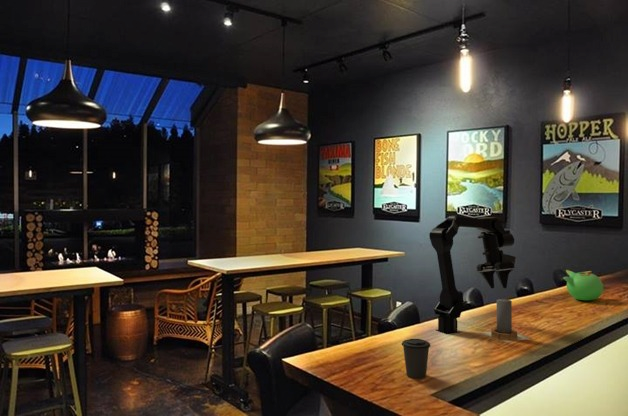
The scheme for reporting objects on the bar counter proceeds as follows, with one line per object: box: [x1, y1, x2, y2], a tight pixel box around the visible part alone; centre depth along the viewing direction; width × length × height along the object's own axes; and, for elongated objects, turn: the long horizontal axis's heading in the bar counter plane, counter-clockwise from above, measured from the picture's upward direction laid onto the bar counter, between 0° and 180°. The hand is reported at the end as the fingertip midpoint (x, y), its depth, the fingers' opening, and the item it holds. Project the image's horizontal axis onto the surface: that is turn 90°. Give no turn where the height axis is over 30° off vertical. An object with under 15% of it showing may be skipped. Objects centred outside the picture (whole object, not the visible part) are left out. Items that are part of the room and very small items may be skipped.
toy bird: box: [563, 269, 604, 302], centre depth 238 cm, size 18×17×15 cm
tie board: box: [478, 327, 532, 344], centre depth 174 cm, size 13×13×2 cm
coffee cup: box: [401, 338, 431, 380], centre depth 135 cm, size 8×8×10 cm
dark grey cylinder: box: [496, 298, 513, 334], centre depth 172 cm, size 5×5×13 cm
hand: (498, 288), depth 187 cm, fingers open, 9 cm apart
